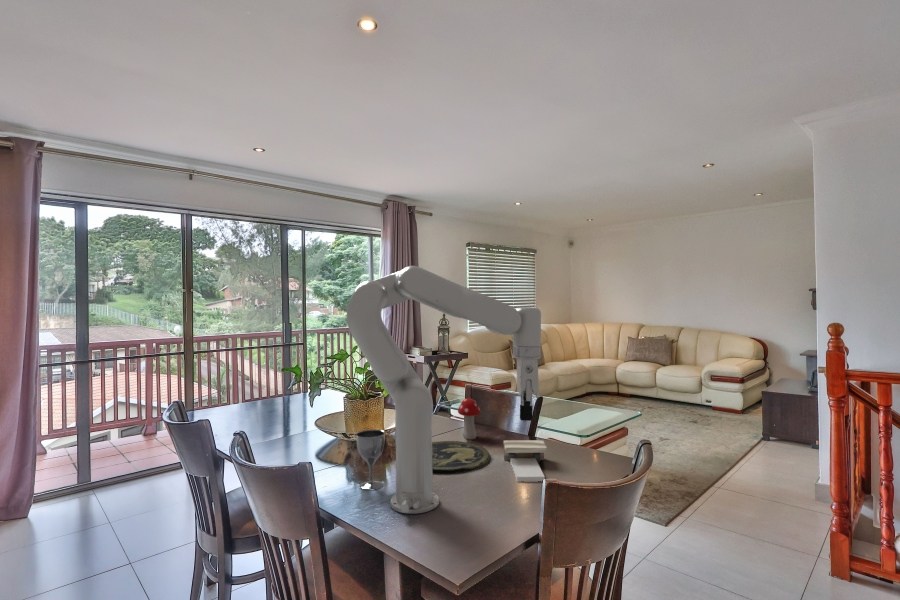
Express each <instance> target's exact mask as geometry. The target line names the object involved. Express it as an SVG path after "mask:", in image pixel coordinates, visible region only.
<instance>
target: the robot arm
mask: <svg viewBox="0 0 900 600" xmlns="http://www.w3.org/2000/svg"><path fill="white" fill-rule="evenodd" d="M408 300H412V301H415V302H417V303H420V304H422V305H425V306H427V307H429V308H432V309H434V310H436V311H439V312H441V313H444V314H445V315H448V316H452V317H455V318H459V319H464V320H467V321H470V322H472V323H476V324H478V325H481V326H483V327H485V329H486V330H488V331H489V332H490V333H493V334H496V335H497V334H498V335H503V336H511V335H513V336H512V358H513V359H516V387H517V391H518V393H519V395H520V404H519V419H520V421H526V422H527V421H528V422H529V421H533V395H534V396H535V397H538V396H539V393H540V391H539V364H538V360H540V359H541V356H542V355H541V351H542V350H541V349H542V348H541V346H542V345H541V344H542V312H541V310H540V309H539V308H538V307H527V306H525V307H522V306H521V307H516V308H515V307H514V306H511V305H509V304H507V303H505V302H502V301H500V300H498V299H495V298H493V297H491V296H488V295H486V294H483V293H480V292H478V291H475V290H473V289H471V288H468V287H466V286H464V285H461V284H458V283H456V282H454V281H453V280H449V279H448V278H444V276H440V275H438V274H435V273H434V272H431V271H429V270H427V269H424V268H422V267H420V266H417V265H408V266H405V267H404V268H402V269H400V270H399V271H398V270H397V271H396V272H393V273H391V274H387V275H385V276H382V277H379V278H376V279H367V280H364V281H362V282H361V283H359V284H358V285H357V286H356V287H355V289H354V291H353V292H352V295H351V297H350V298H349V301H348V303H347V308H346V321H347V326H348V330H349V332H350V335H351V336H352V338H353V339H354V341H355V343H356V344H357V346H358V348H359V350H360V351H361V353H362V355H363V356H364V358H365V359H366V360H367V362H368V364H369V365H370V367H371V369H372V370H371V371H372V373H373V374H374V375H375V377H376V378H377V379H378V380H379V381H380V382H381V384H382V386H383V387H384V389H385V390H386V392H387V394H388V395H389V396H390V397H391V399H392V401H393V404H394V412H395V417H394V419H395V420H394V421H395V423H394V425H395V426H394V427H395V428H394V431H395V433H394V437H395V438H394V441H395V442H394V443H395V444H394V445H395V482H396V483H395V484H396V485H395V489H396V490H395V491H396V492H395V493H396V494H394V495H392V497H391V498H390V501H389V502H390V503H389V504H390V507H391V509H393V510H394V511H396V512H398V513H402V514H407V515H408V514H410V515H411V514H413V515H416V514H423V513H427V512H430V511H432V510H434V509H436V508H437V507H438V506H439V504H440V497H439V496H438V495H437V493H435V492H434V480H433V479H434V477H433V476H434V474H433V466H432V442H433V416H434V415H433V412H434V402H433V396H432V393H431V390H430V389H429V388H428V387H427V386H426V385H425V384H424V383H423V381H422V379H421V378H420V376H419V375H418V373H417V372H416V371H415V369H414V368H413V365H411V363H410V361H409V359H408V357H407V355H406V353H405V352H404V351H403V350H402V349H401V348H400V346H399V345H398V344H397V343H396V341H395V339H394V338H393V336H392V334H391V333H390V331H389V330H388V328H387V327H386V325H385V323H384V321H383V318H382V311H383V310H384V309H387V308H390V307H392V306H395V305H398V304H400V303H404V302H406V301H408Z"/></svg>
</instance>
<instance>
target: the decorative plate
mask: <svg viewBox="0 0 900 600" xmlns="http://www.w3.org/2000/svg"><path fill="white" fill-rule="evenodd" d="M489 460H491V455H490V452H489V451H488V450H487V449H486V448H485V447H483V446H480V445H479V444H475V443H471V442H465V441H458V440H457V441H456V440H436V441H432V466H433V475H455V474H463V473H468V471H469V472H472V470H473V471H476V470H479V469H481V468H483V467H485V466H487V464H488V463H489V462H490V461H489ZM484 465H485V466H484ZM482 466H483V467H482ZM480 467H481V468H480ZM478 468H479V469H478ZM475 469H476V470H475Z"/></svg>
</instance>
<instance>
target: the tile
mask: <svg viewBox="0 0 900 600" xmlns="http://www.w3.org/2000/svg"><path fill="white" fill-rule="evenodd" d="M509 463H510V465H512V466H511V469H512V468H513V469H512V471H514V472H513V475H514V474H515V475H514V477H516V478H515V480H516V483H522V482H521V481H524V482H523V483H528V482H529V483H536V482H537V483H539V482H538V481H541V482H542V480H543V479H545V480H546V477H545V475H544V473H543V471H542V469H541V467H540V464H539V462H537V461H536V459H535V458H510V462H509ZM541 482H540V483H541ZM542 483H543V482H542Z"/></svg>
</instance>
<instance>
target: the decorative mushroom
mask: <svg viewBox="0 0 900 600" xmlns="http://www.w3.org/2000/svg"><path fill="white" fill-rule="evenodd" d="M457 413H458V414H459V415H460V416H463V417H464V423H463V424H464V425H463V430H462V437H463V439H464V440H465V439H466V440H475V439H477V434H478V433H477V431H476V427H475V417H476V416H479V415H480V414H481V408H480V407H479V405H478V403H477V401H476V400H474V399H473V398H469V397H468V398H465V399H463V400H462V401H461V403H460V405H459V407H458V409H457Z"/></svg>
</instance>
